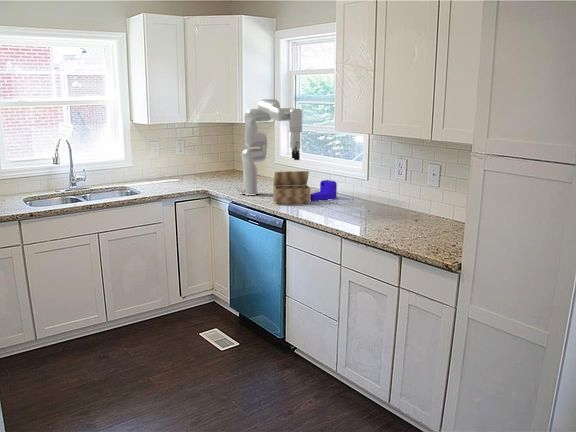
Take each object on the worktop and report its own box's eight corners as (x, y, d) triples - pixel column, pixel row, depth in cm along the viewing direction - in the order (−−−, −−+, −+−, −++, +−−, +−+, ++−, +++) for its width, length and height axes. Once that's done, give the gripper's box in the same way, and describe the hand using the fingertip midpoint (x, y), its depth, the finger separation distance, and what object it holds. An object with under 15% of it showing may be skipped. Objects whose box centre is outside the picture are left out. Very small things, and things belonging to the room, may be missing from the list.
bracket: (324, 196, 360) (325, 179, 357) (336, 199, 352) (336, 181, 349) (305, 200, 348) (305, 182, 345) (316, 202, 340) (317, 184, 337)
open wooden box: (275, 204, 333) (275, 189, 330) (273, 200, 344) (273, 185, 342) (310, 203, 336) (310, 188, 334) (306, 200, 347) (306, 185, 345)
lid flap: (274, 172, 333) (274, 171, 333) (273, 185, 342) (273, 185, 342) (308, 171, 336) (308, 170, 337) (306, 184, 345) (306, 184, 345)
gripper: (287, 128, 322) (287, 157, 327) (291, 130, 306) (291, 161, 310) (299, 128, 324) (299, 157, 328) (304, 130, 307) (304, 160, 311)
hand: (295, 158), depth 319 cm, fingers open, 7 cm apart
